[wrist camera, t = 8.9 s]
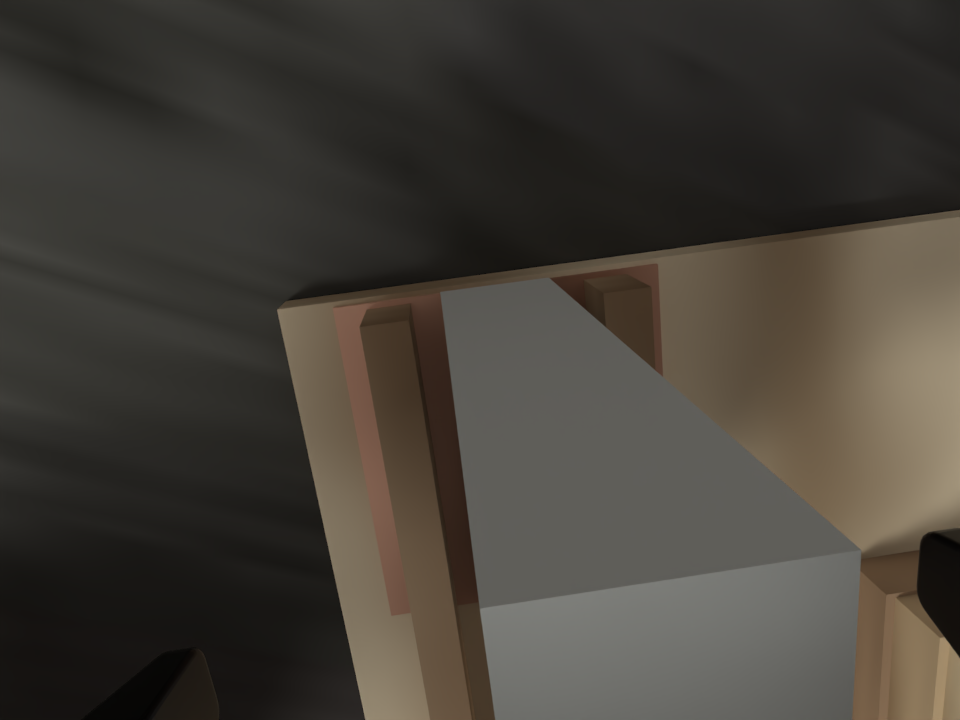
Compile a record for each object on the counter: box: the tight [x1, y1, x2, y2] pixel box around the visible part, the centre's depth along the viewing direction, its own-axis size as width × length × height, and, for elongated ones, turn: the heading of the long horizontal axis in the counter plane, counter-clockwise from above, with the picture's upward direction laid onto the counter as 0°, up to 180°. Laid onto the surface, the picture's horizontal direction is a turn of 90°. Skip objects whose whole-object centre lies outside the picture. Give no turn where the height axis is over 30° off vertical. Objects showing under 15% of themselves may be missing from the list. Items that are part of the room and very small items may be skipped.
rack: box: [277, 210, 960, 720], centre depth 14 cm, size 18×14×2 cm
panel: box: [440, 278, 861, 720], centre depth 9 cm, size 2×7×9 cm, turn 7°
